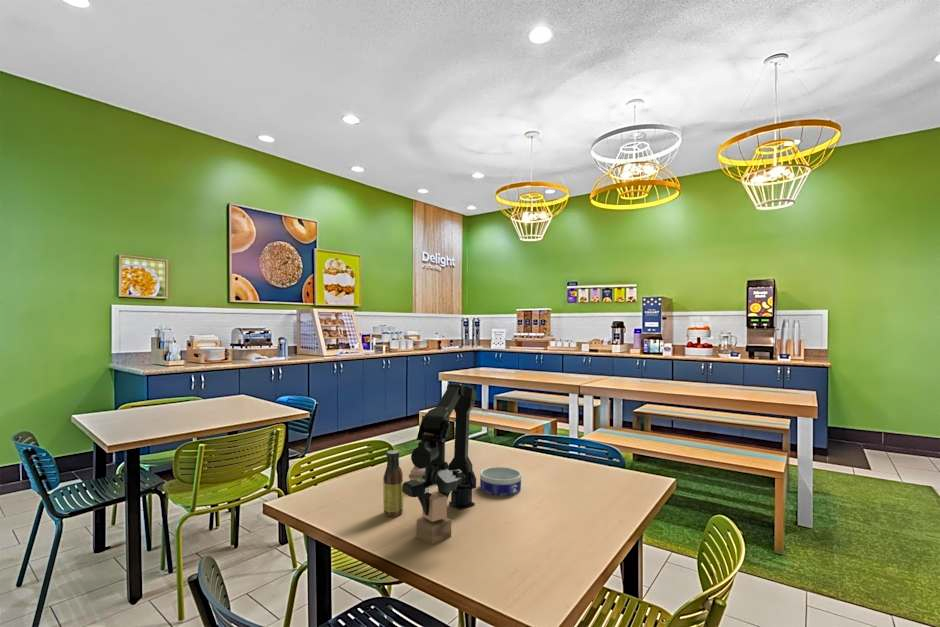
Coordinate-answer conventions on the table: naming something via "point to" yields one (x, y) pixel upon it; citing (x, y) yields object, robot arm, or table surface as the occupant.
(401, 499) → the sauce bottle
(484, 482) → the dog bowl
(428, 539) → the walnut block
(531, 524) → the table surface
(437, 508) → the light wooden cube
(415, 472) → the cupcake
